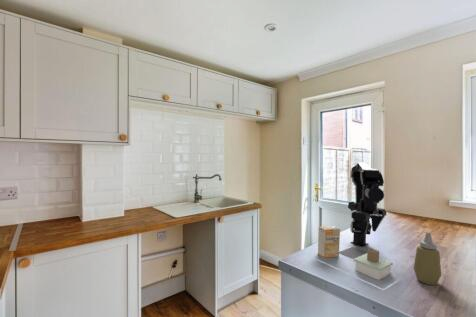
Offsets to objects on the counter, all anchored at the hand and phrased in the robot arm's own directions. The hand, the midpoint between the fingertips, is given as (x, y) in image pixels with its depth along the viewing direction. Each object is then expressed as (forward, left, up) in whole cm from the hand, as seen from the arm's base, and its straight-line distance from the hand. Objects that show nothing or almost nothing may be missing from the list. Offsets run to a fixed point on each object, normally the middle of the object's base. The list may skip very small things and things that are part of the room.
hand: (368, 233), depth 105 cm
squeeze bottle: (-1, +21, -12) cm, 24 cm away
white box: (+10, +7, -12) cm, 17 cm away
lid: (+10, +7, -8) cm, 15 cm away
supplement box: (+11, -12, -12) cm, 20 cm away
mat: (-1, -5, -12) cm, 13 cm away
